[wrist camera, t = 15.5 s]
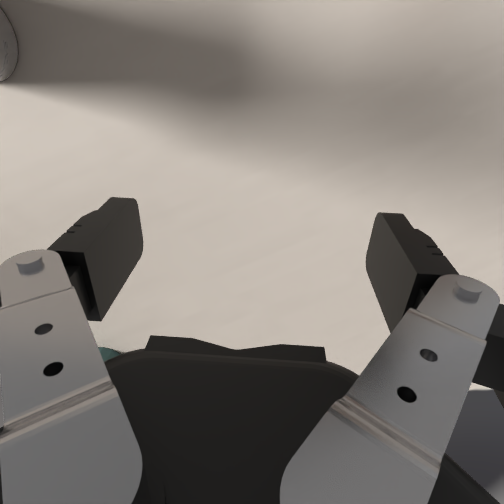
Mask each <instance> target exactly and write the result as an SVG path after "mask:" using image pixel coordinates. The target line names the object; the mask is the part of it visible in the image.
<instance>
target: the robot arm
mask: <svg viewBox="0 0 504 504" xmlns="http://www.w3.org/2000/svg"><path fill="white" fill-rule="evenodd" d="M17 58H18V47H17V41H16V37H15V33H14V31H13V28H12V26H11V24H10V22H9V20H8V19H7V17H6V15H5V14H4V12H3V11H2V10H1V8H0V81H3V80H5V79H6V78H8V77H9V76H10V75H11V74H12V72H13V71H14V69H15V66H16V63H17ZM437 247H438V246H437V245H436V244H435V242H434V241H433V240H432V238H431V237H429V236H428V235H426V234H425V233H423V232H422V231H420V230H419V229H414V228H413V227H412V225H411V224H410V223H409V221H408V220H407V218H406V217H405V216H404V215H403V214H399V213H381V212H379V213H378V214H377V215H376V218H375V221H374V225H373V229H372V234H371V238H370V242H369V246H368V250H367V255H366V270H367V273H368V276H369V279H370V281H371V284H372V286H373V289H374V292H375V294H376V297H377V299H378V302H379V305H380V307H381V310H382V312H383V315H384V317H385V320H386V323H387V325H388V328H389V330H390V333H391V334H390V335H389V337H388V338H387V339H386V341H385V342H384V343H383V345H382V346H381V347H380V349H379V350H378V352H377V353H376V354H375V356H374V357H373V358H372V360H371V361H370V362H369V364H368V365H367V366H366V368H365V369H364V371H363V372H362V373H361V375H360V376H359V375H357V374H356V373H354V372H352V371H351V370H349V369H346V368H344V367H342V366H340V365H337V364H335V363H332V362H328V361H326V356H325V349H324V347H314V346H300V345H285V344H279V345H271V346H264V347H256V348H249V349H241V350H234V349H229V348H226V347H222V346H219V345H215V344H212V343H208V342H204V341H201V340H197V339H194V338H182V337H167V336H153V335H151V336H150V338H149V341H148V343H147V345H146V348H145V349H139V350H134V351H130V352H127V353H124V354H121V355H118V356H115V357H113V358H111V359H108V360H106V361H105V362H104V361H103V359H102V356H101V354H100V351H99V349H98V346H97V344H96V341H95V338H94V336H93V333H92V331H91V328H90V326H89V323H88V321H87V320H89V321H102V319H103V318H104V316H105V314H106V313H107V311H108V310H109V308H110V306H111V305H112V303H113V301H114V300H115V298H116V297H117V295H118V293H119V292H120V290H121V288H122V287H123V285H124V284H125V282H126V280H127V279H128V277H129V275H130V274H131V272H132V271H133V269H134V267H135V266H136V264H137V262H138V261H139V259H140V257H141V255H142V251H143V236H142V229H141V222H140V216H139V209H138V204H137V201H136V200H135V199H134V198H118V197H111V198H110V199H109V200H108V201H107V202H105V203H104V204H103V205H102V206H101V207H100V208H99V209H98V210H95V211H93V212H91V213H89V214H87V215H85V216H83V217H81V218H80V219H79V220H78V221H77V222H76V223H75V224H74V226H71V227H70V228H69V229H68V230H67V232H66V233H64V234H63V235H62V236H61V237H60V238H58V239H57V240H56V241H55V242H54V243H53V244H52V245H51V246H50V247H49V248H48V249H47V250H32V251H27V252H23V253H20V254H17V255H15V256H13V257H11V258H9V259H7V260H6V261H4V262H3V263H2V264H1V265H0V380H1V392H2V404H3V416H4V426H3V427H1V428H0V504H500V503H499V502H498V501H497V500H496V499H495V498H493V497H492V496H491V495H490V494H489V493H488V492H487V491H486V490H485V489H484V488H483V487H482V486H481V485H480V484H478V483H477V482H476V481H475V480H474V479H473V478H472V477H471V476H470V475H469V474H468V473H467V472H466V471H464V470H463V469H462V468H461V467H460V466H459V465H458V464H457V463H456V462H454V460H453V459H452V458H450V457H449V456H448V455H447V454H446V453H445V450H446V447H447V444H448V442H449V439H450V436H451V434H452V431H453V428H454V426H455V424H456V421H457V418H458V416H459V413H460V411H461V408H462V405H463V403H464V400H465V398H466V395H467V393H468V390H469V387H470V385H471V382H473V383H476V384H479V385H482V386H485V387H489V388H492V389H494V391H495V393H496V395H497V397H498V399H499V401H500V402H501V404H502V406H503V408H504V305H503V304H499V303H500V299H499V296H498V294H497V293H496V292H495V291H494V290H493V289H492V288H491V287H489V286H488V285H486V284H485V283H483V282H481V281H479V280H476V279H474V278H471V277H467V276H463V275H459V274H458V272H457V271H456V270H455V268H454V267H453V266H452V264H451V263H450V262H449V261H448V259H447V258H446V257H445V256H443V253H442V251H441V250H440V249H439V248H437Z"/></svg>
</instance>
